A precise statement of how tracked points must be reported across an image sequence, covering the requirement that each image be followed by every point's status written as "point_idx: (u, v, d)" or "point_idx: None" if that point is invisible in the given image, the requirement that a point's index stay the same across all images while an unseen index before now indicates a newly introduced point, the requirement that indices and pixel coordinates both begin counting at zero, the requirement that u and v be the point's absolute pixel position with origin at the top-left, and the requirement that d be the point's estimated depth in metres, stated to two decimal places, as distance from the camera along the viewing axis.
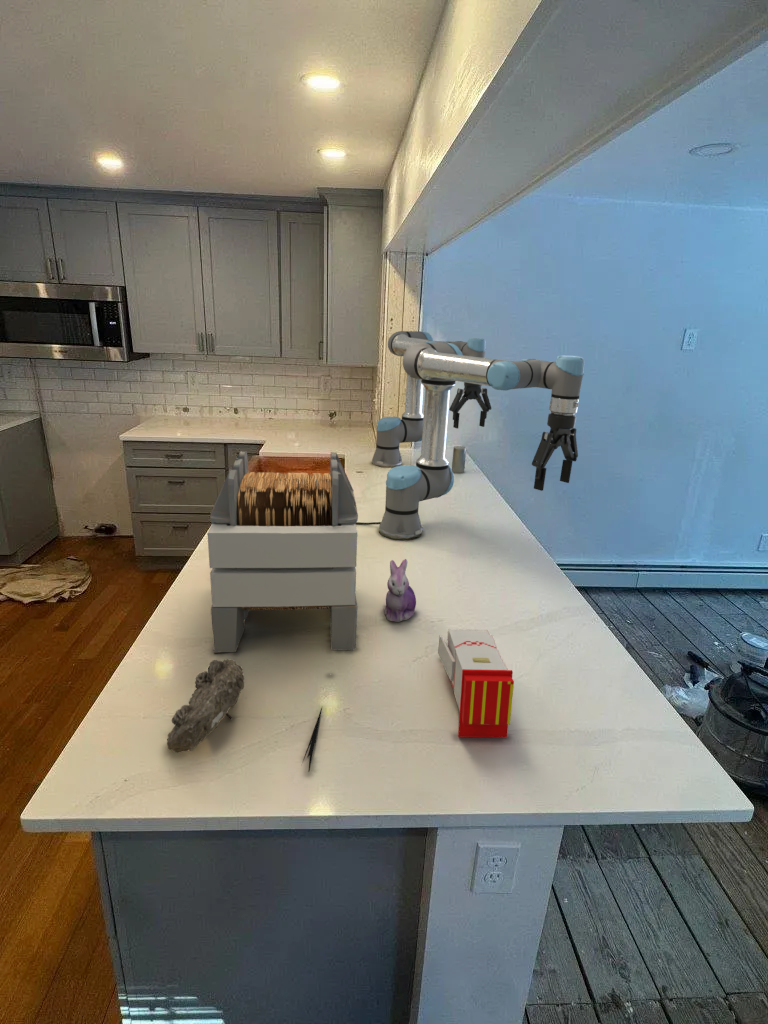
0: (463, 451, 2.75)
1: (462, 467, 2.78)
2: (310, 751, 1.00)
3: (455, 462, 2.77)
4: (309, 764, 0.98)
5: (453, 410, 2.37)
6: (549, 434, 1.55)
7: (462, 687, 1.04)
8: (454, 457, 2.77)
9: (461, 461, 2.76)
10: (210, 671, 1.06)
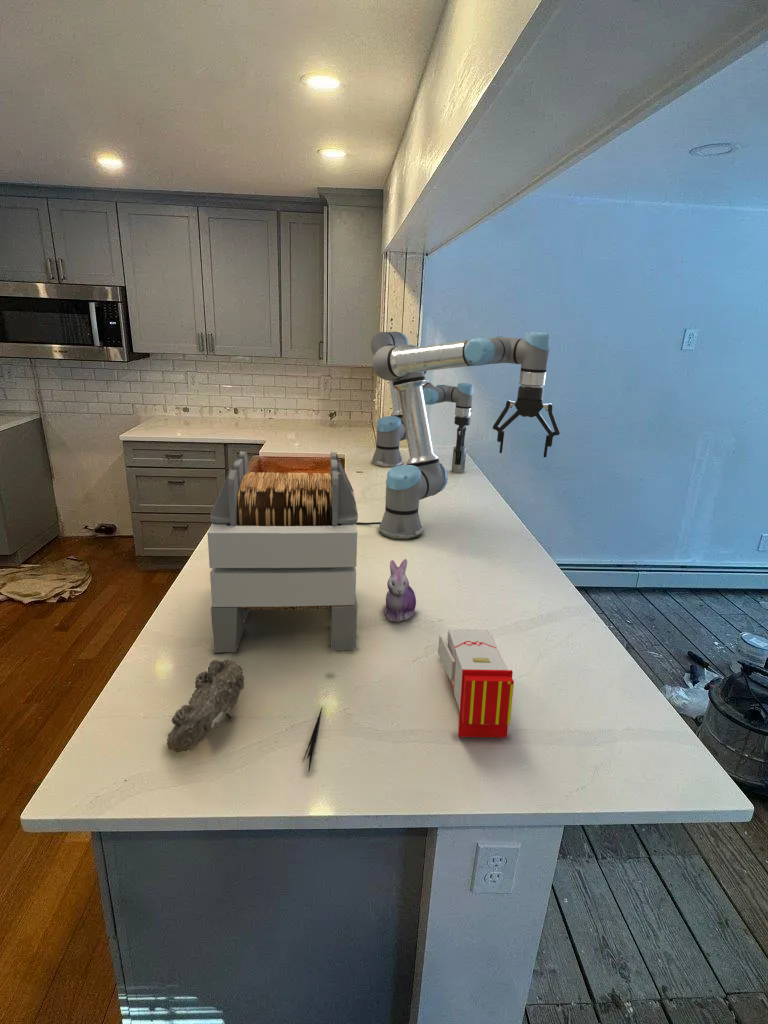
0: (463, 451, 2.75)
1: (462, 467, 2.78)
2: (310, 751, 1.00)
3: None
4: (309, 764, 0.98)
5: None
6: None
7: (462, 687, 1.04)
8: (454, 457, 2.77)
9: (461, 461, 2.76)
10: (210, 671, 1.06)
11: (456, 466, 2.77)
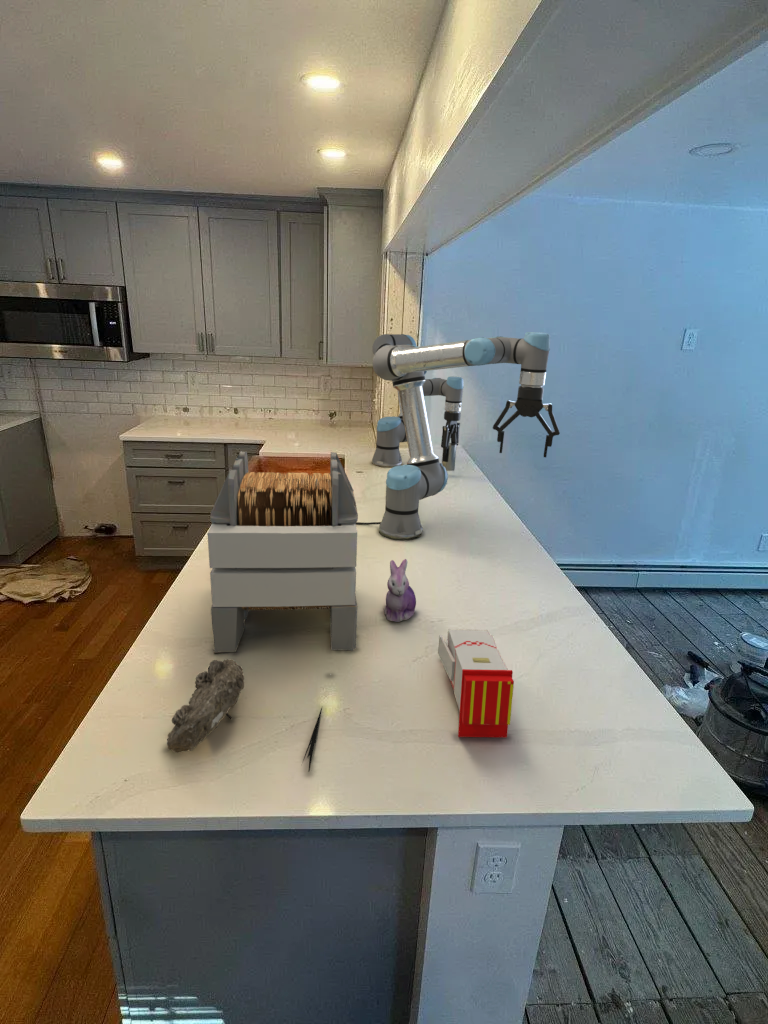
0: (451, 448, 2.63)
1: (450, 464, 2.66)
2: (310, 751, 1.00)
3: None
4: (309, 764, 0.98)
5: (446, 446, 2.60)
6: None
7: (462, 687, 1.04)
8: None
9: (449, 458, 2.65)
10: (210, 671, 1.06)
11: (444, 463, 2.66)
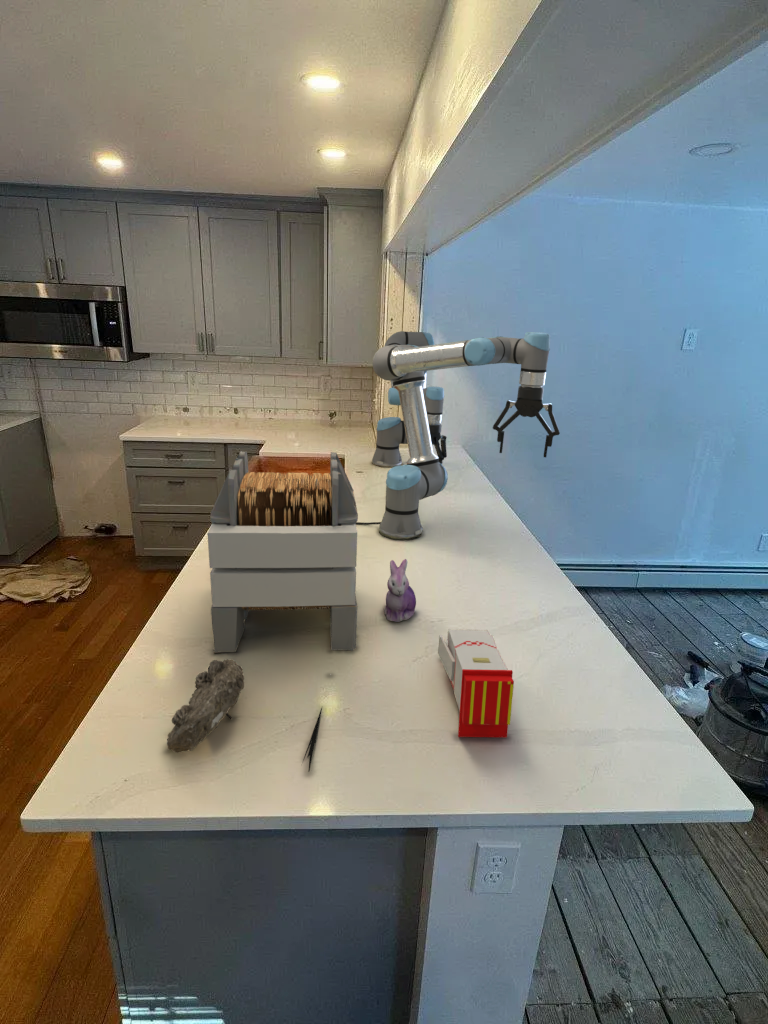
0: None
1: None
2: (310, 751, 1.00)
3: None
4: (309, 764, 0.98)
5: None
6: None
7: (462, 687, 1.04)
8: None
9: None
10: (210, 671, 1.06)
11: None
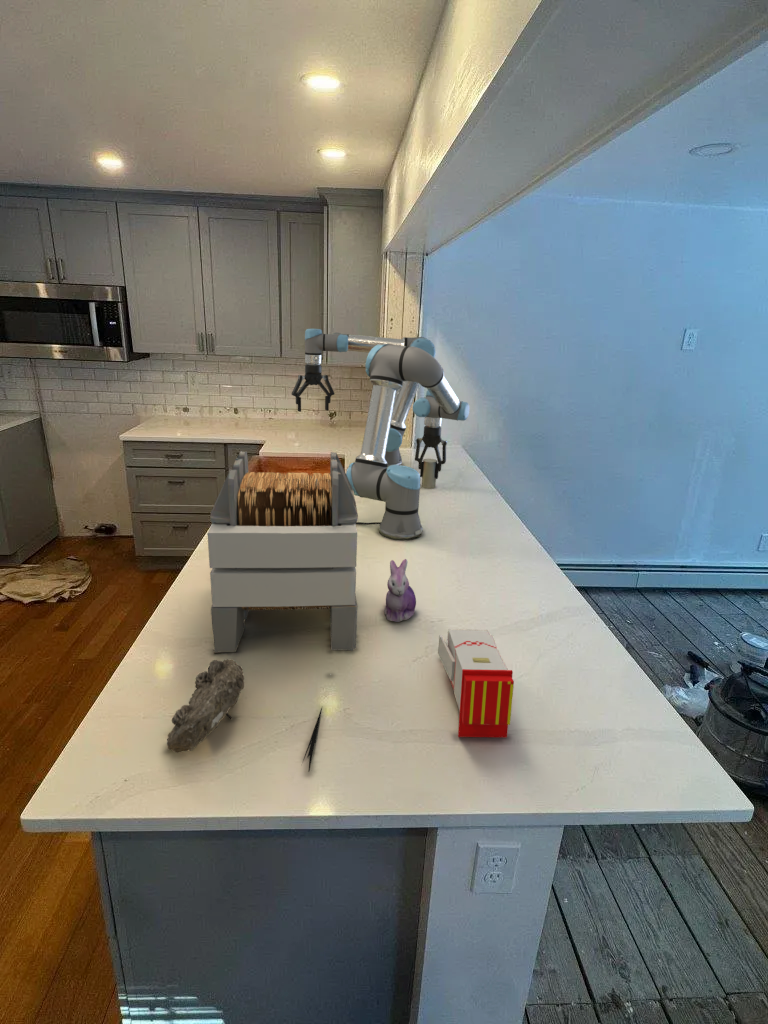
0: (428, 464, 2.48)
1: (427, 482, 2.51)
2: (310, 751, 1.00)
3: (422, 474, 2.53)
4: (309, 764, 0.98)
5: (294, 395, 2.58)
6: None
7: (462, 687, 1.04)
8: None
9: (426, 475, 2.50)
10: (210, 671, 1.06)
11: (422, 479, 2.53)
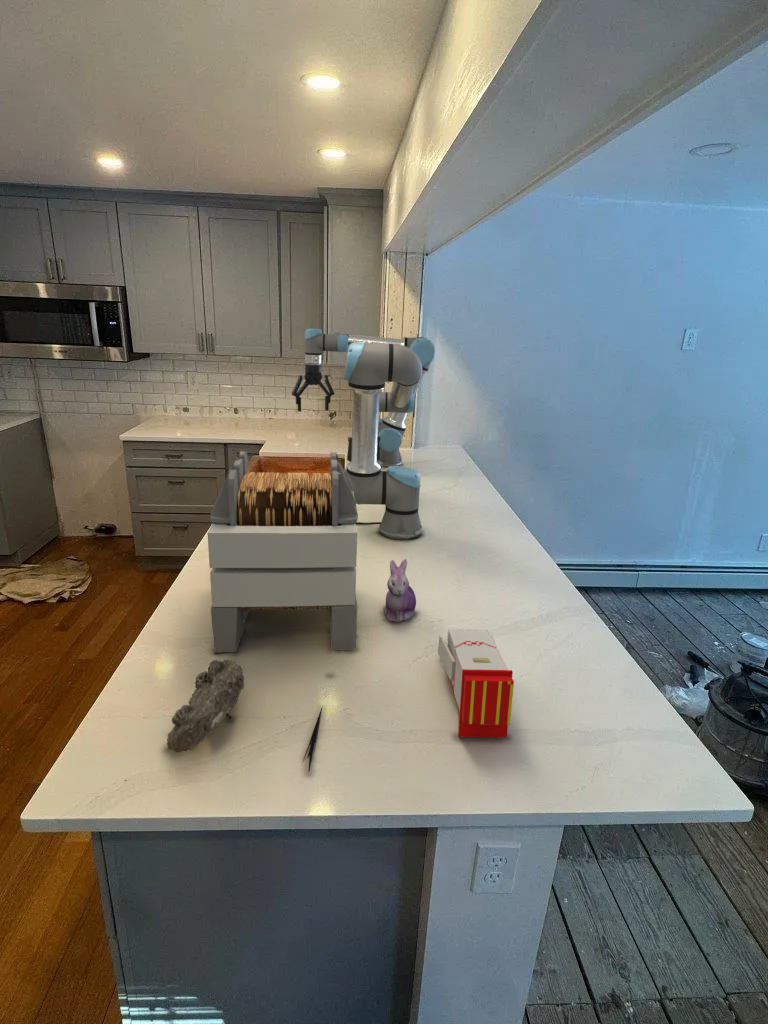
0: None
1: None
2: (310, 751, 1.00)
3: None
4: (309, 764, 0.98)
5: (294, 395, 2.58)
6: None
7: (462, 687, 1.04)
8: None
9: None
10: (210, 671, 1.06)
11: None
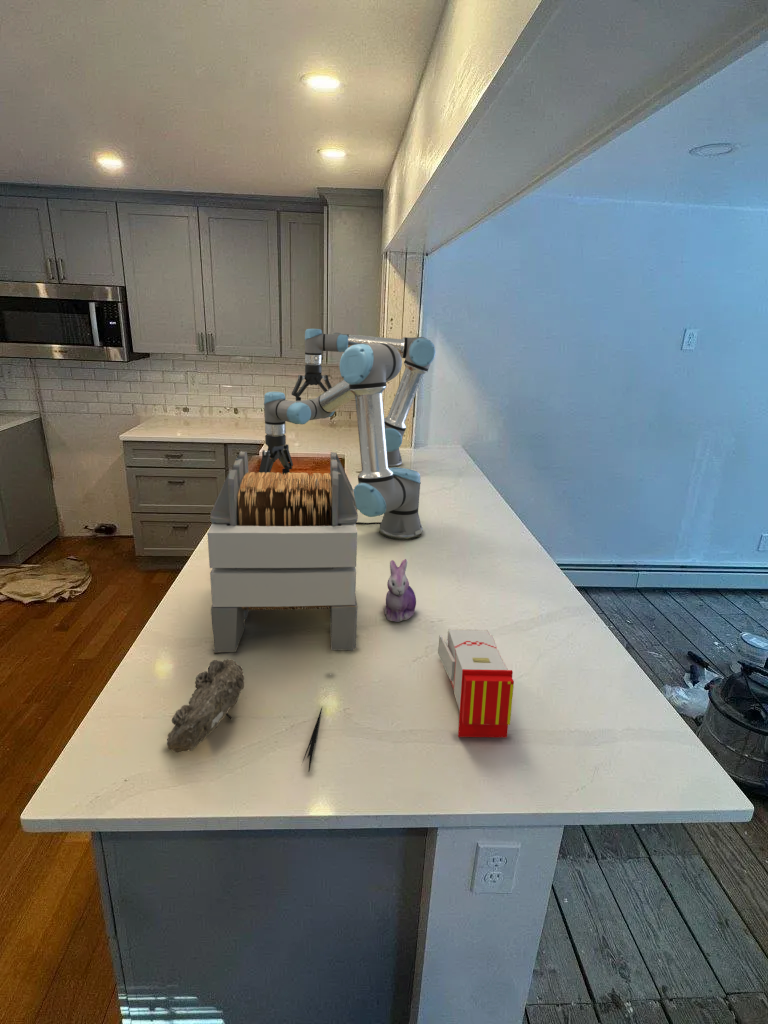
0: None
1: None
2: (310, 751, 1.00)
3: None
4: (309, 764, 0.98)
5: (294, 395, 2.58)
6: None
7: (462, 687, 1.04)
8: None
9: None
10: (210, 671, 1.06)
11: None
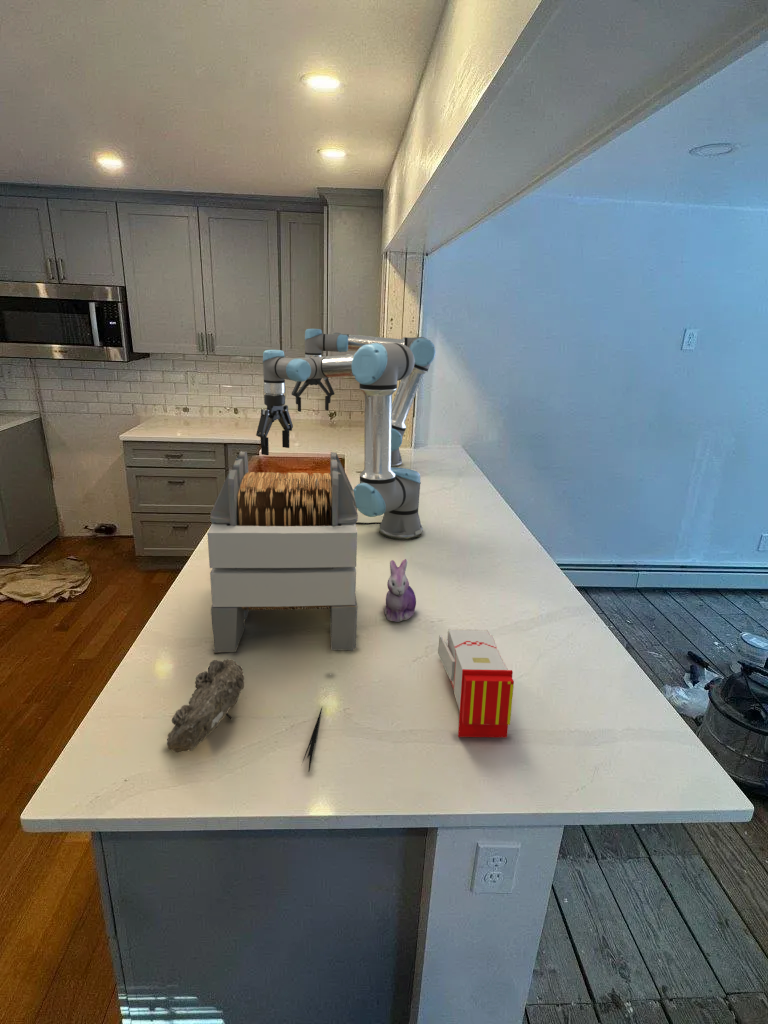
0: None
1: None
2: (310, 751, 1.00)
3: None
4: (309, 764, 0.98)
5: (294, 395, 2.58)
6: None
7: (462, 687, 1.04)
8: None
9: None
10: (210, 671, 1.06)
11: None
